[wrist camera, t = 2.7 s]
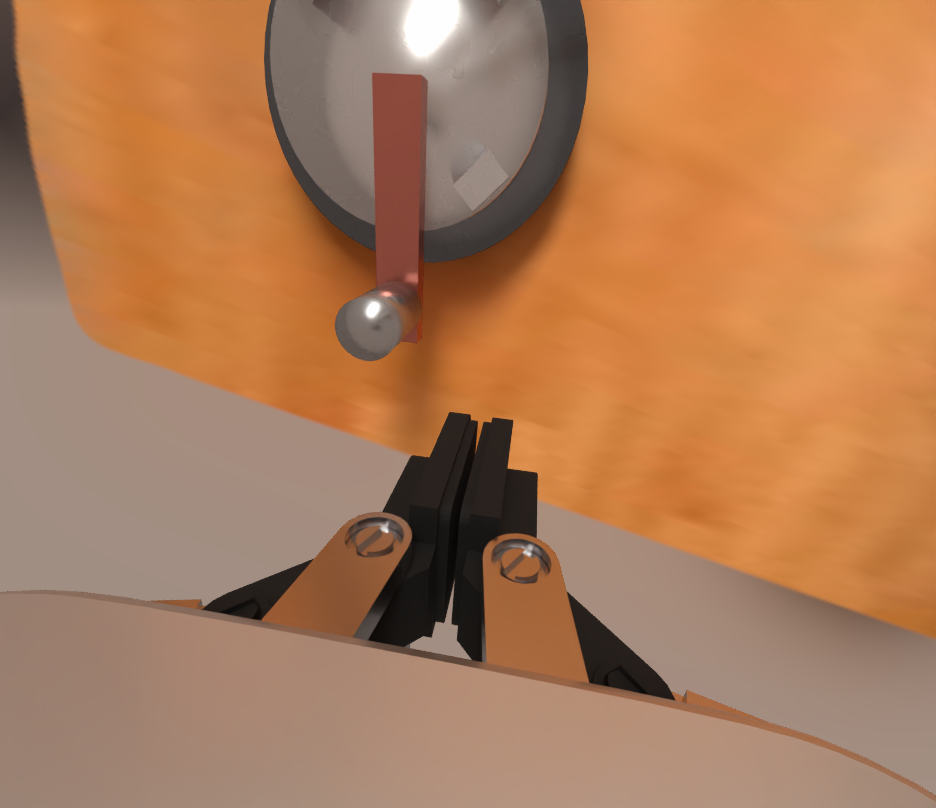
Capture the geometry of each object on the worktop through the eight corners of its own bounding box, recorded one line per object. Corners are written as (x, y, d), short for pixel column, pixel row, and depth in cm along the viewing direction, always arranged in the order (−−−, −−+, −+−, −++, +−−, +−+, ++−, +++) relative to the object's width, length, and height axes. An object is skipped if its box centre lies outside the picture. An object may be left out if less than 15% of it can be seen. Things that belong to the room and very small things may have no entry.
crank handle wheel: (569, -88, 20) (582, -265, 12) (518, 336, 29) (507, 387, 21) (281, -88, 22) (135, -244, 14) (314, 313, 31) (235, 353, 23)
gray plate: (613, -105, 22) (622, -147, 19) (557, 268, 30) (558, 275, 27) (275, -104, 24) (241, -141, 22) (305, 245, 32) (283, 249, 29)
